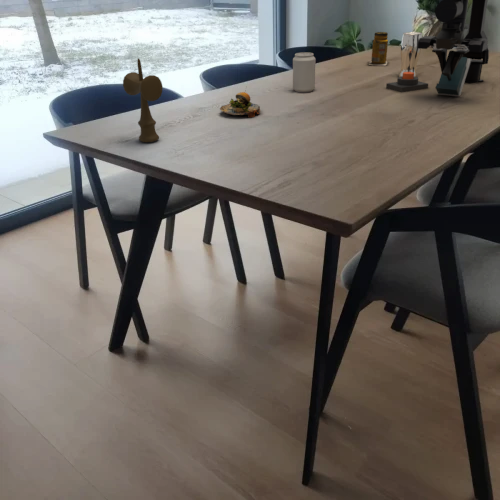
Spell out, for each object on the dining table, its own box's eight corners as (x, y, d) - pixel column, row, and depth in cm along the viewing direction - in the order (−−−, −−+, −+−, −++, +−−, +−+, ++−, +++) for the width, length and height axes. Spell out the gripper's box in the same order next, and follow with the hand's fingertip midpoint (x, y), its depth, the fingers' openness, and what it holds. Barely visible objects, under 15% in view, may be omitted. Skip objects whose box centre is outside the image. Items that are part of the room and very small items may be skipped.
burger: (215, 111, 156) (213, 85, 152) (251, 106, 160) (250, 81, 156) (228, 121, 146) (226, 94, 143) (266, 115, 150) (266, 89, 146)
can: (288, 90, 178) (288, 53, 172) (307, 87, 181) (307, 50, 175) (300, 94, 172) (300, 56, 166) (319, 91, 175) (320, 53, 169)
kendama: (149, 147, 127) (138, 62, 118) (129, 139, 134) (117, 58, 124) (169, 141, 131) (160, 58, 121) (148, 134, 137) (138, 54, 127)
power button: (408, 77, 174) (409, 71, 173) (415, 79, 172) (416, 73, 171) (399, 78, 173) (400, 72, 172) (407, 80, 170) (407, 74, 169)
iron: (448, 58, 164) (443, 41, 155) (471, 59, 161) (467, 42, 152) (437, 94, 164) (431, 79, 155) (460, 96, 161) (455, 81, 152)
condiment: (387, 62, 218) (390, 31, 212) (386, 65, 211) (389, 34, 205) (369, 62, 220) (372, 31, 214) (368, 65, 213) (370, 34, 207)
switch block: (411, 84, 179) (412, 74, 177) (427, 88, 173) (429, 77, 171) (385, 88, 175) (386, 77, 173) (401, 92, 169) (402, 81, 167)
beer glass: (415, 74, 193) (420, 31, 186) (419, 78, 187) (424, 34, 180) (396, 75, 194) (401, 32, 186) (399, 79, 188) (404, 34, 180)
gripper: (413, 20, 147) (407, 77, 155) (482, 22, 137) (472, 82, 145) (426, 15, 154) (420, 69, 162) (492, 17, 145) (482, 74, 153)
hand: (447, 74), depth 156 cm, fingers closed on iron, 2 cm apart
